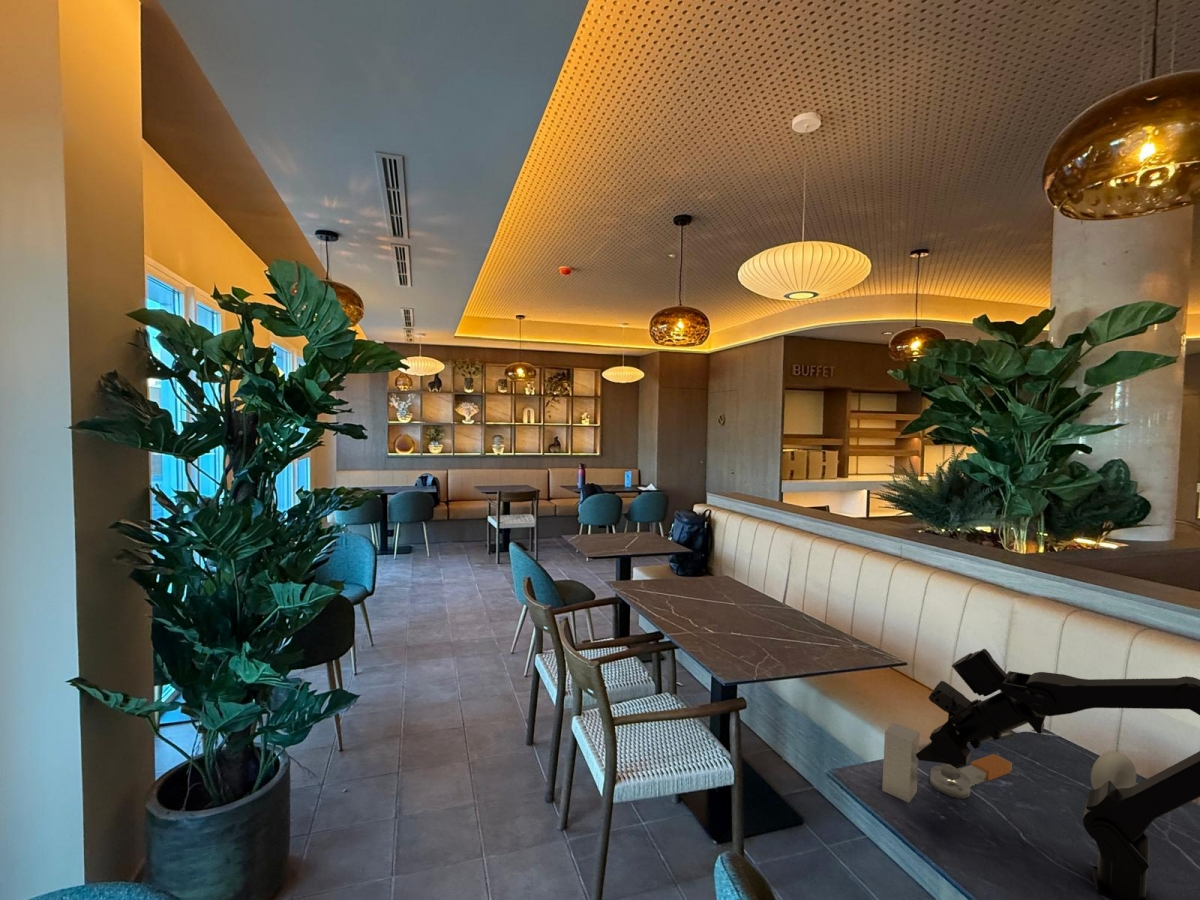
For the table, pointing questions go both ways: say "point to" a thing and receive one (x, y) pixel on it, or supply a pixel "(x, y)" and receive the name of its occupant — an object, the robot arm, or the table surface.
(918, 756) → the robot arm
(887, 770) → the tall beige block
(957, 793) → the ratchet
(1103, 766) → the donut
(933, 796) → the table surface
